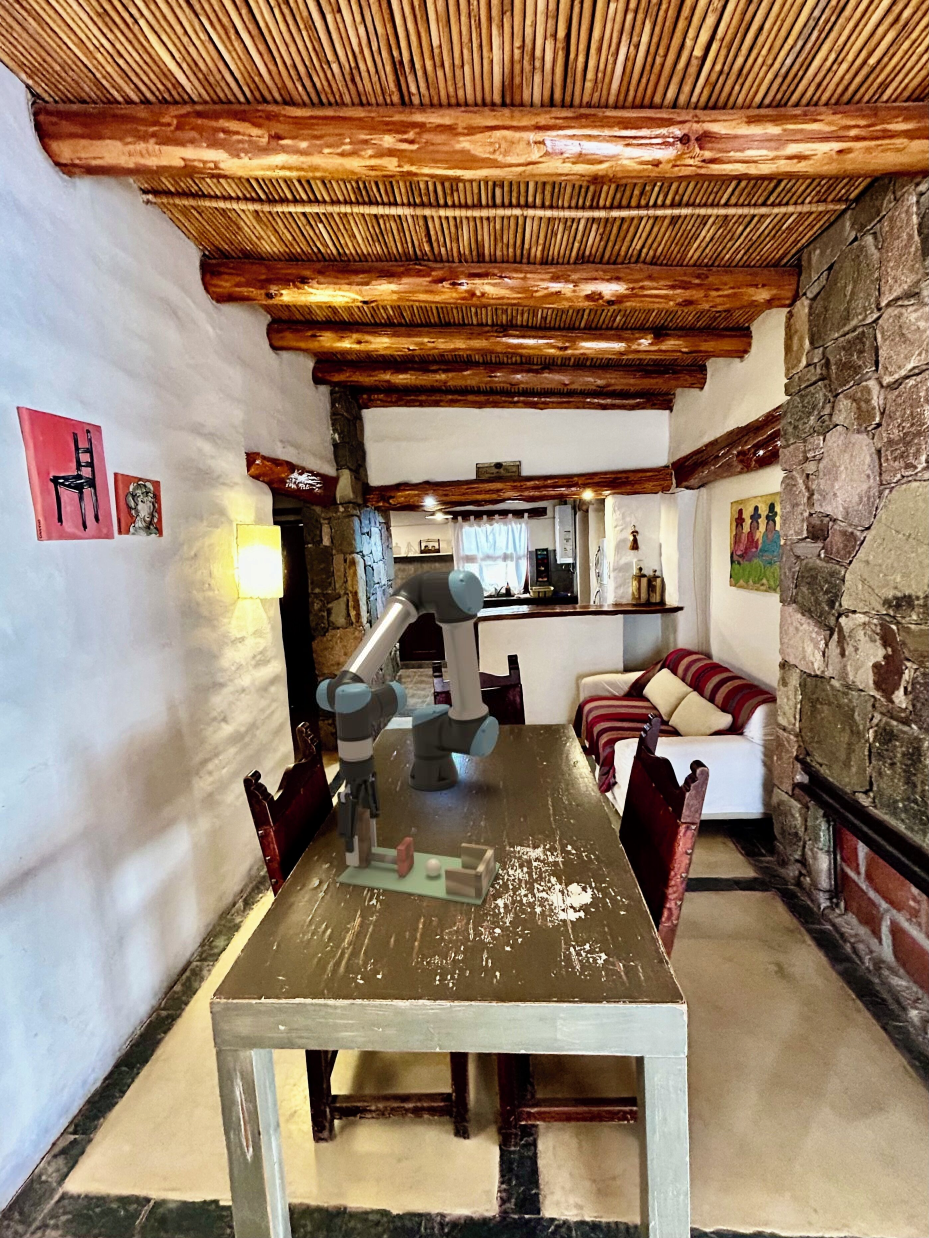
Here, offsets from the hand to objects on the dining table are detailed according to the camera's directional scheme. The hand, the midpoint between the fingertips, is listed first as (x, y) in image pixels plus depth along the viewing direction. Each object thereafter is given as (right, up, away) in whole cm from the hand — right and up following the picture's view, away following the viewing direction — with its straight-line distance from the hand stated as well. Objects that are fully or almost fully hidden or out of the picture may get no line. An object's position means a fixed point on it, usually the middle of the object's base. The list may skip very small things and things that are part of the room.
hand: (362, 854), depth 130 cm
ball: (+16, 0, -5) cm, 17 cm away
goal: (+24, -3, -8) cm, 26 cm away
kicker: (+5, -2, -1) cm, 5 cm away
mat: (+13, -3, -4) cm, 14 cm away
